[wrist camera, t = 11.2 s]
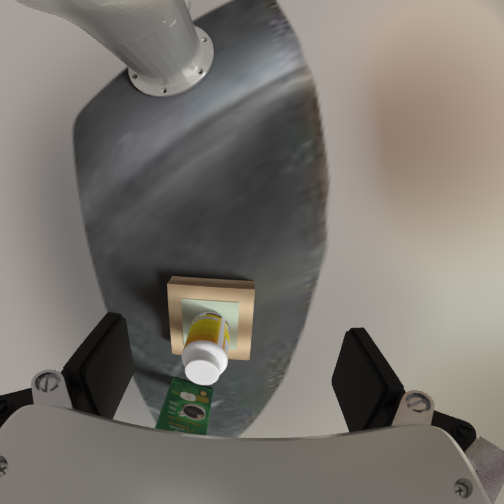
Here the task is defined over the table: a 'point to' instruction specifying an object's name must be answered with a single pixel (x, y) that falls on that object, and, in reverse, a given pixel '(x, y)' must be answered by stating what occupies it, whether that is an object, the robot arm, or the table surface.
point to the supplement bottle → (206, 348)
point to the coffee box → (186, 408)
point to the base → (212, 310)
